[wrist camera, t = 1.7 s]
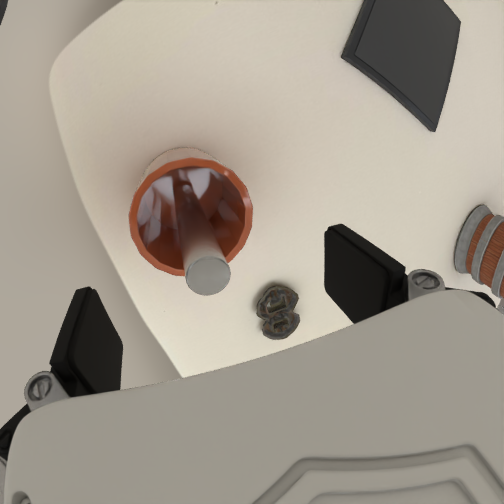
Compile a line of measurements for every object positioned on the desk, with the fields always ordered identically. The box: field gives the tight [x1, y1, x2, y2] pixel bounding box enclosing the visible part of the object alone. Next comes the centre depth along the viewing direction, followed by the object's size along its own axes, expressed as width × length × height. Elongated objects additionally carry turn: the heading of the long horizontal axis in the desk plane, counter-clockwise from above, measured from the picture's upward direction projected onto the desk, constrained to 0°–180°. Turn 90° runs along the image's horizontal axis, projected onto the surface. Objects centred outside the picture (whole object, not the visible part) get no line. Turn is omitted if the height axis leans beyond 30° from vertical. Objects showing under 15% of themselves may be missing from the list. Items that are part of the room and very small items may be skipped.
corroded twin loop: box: [256, 286, 300, 340], centre depth 32 cm, size 5×8×1 cm, turn 12°
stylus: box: [174, 185, 231, 295], centre depth 17 cm, size 2×2×14 cm
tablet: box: [341, 0, 461, 132], centre depth 21 cm, size 16×22×1 cm
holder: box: [129, 147, 253, 276], centre depth 20 cm, size 8×8×8 cm
